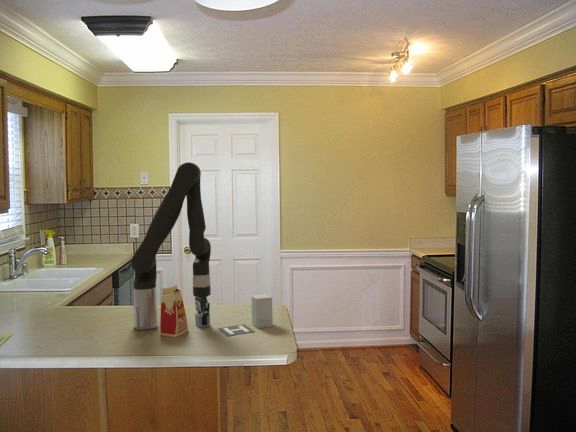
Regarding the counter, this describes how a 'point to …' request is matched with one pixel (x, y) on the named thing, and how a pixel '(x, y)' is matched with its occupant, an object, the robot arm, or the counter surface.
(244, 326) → the letter mat
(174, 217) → the robot arm
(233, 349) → the counter surface
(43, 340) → the counter surface
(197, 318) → the slate blue cube
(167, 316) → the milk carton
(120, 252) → the counter surface
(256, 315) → the supplement box
